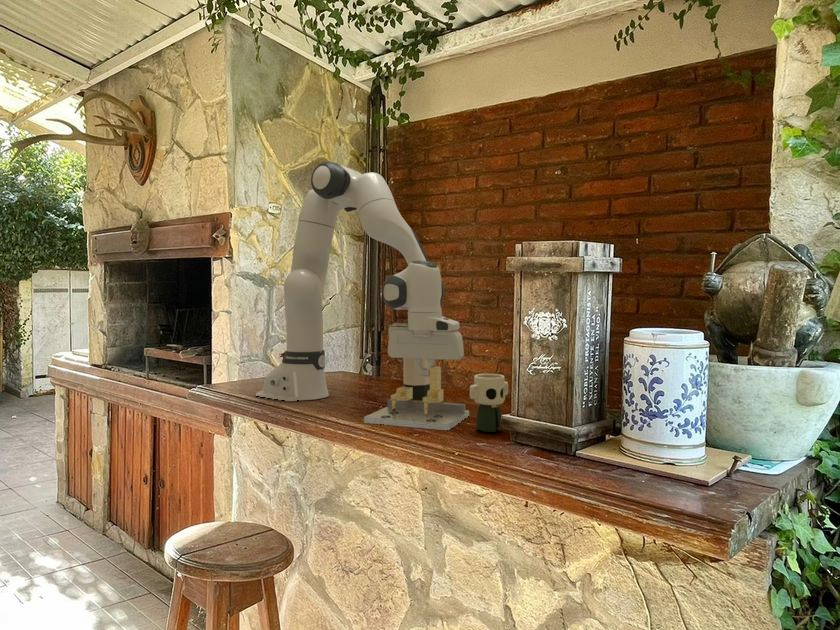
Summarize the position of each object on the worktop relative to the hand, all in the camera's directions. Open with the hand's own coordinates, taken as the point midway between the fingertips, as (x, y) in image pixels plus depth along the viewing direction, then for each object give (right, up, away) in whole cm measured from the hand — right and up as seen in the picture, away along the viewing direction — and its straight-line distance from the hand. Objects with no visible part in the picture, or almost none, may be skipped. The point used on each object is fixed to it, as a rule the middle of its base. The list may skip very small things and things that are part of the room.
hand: (425, 375), depth 158 cm
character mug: (+15, -11, -17) cm, 25 cm away
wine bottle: (-2, -9, +27) cm, 29 cm away
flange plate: (-2, -11, -5) cm, 12 cm away
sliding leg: (+2, -9, -3) cm, 9 cm away
